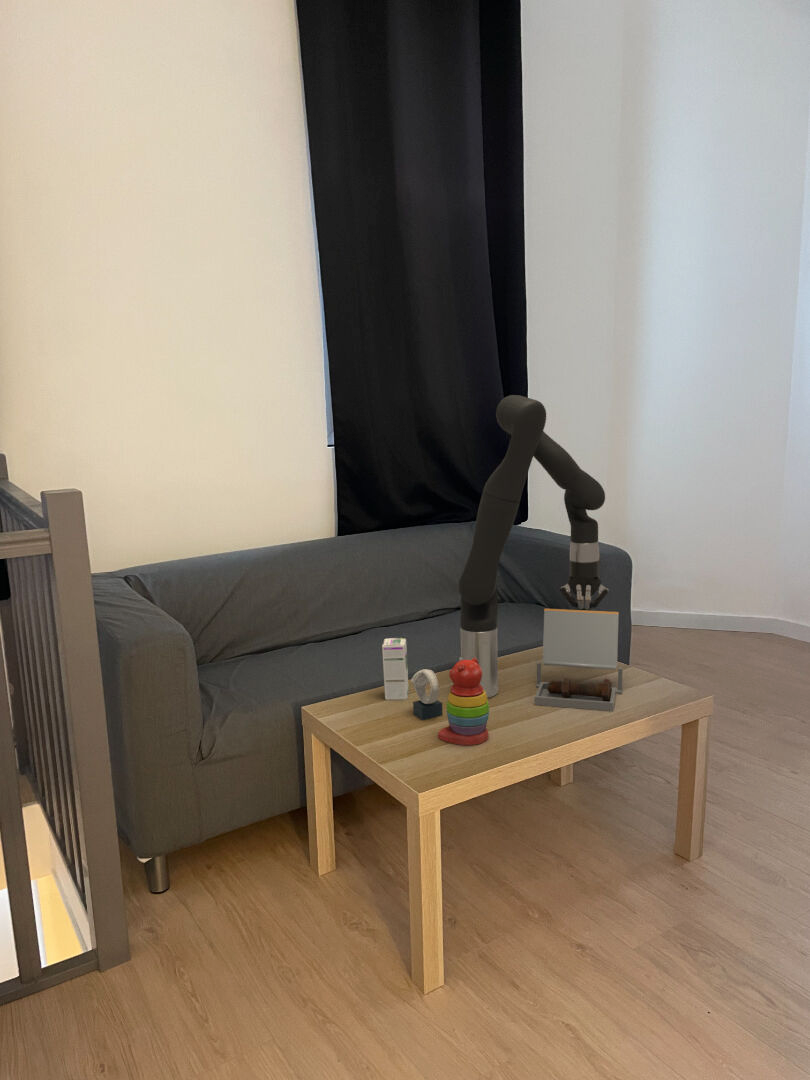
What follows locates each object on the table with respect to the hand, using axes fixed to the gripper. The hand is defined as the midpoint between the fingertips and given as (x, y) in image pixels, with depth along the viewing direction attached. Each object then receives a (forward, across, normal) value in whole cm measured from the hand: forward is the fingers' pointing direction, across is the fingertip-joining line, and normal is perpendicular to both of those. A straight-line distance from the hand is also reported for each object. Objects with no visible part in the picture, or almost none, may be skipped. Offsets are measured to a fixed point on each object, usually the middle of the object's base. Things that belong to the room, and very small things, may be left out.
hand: (584, 622), depth 220 cm
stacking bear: (+14, -21, -47) cm, 53 cm away
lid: (+2, 0, -10) cm, 10 cm away
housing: (+14, 0, -18) cm, 23 cm away
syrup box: (+14, -44, -27) cm, 54 cm away
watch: (+14, -33, -37) cm, 52 cm away
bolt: (+14, +1, -19) cm, 24 cm away
